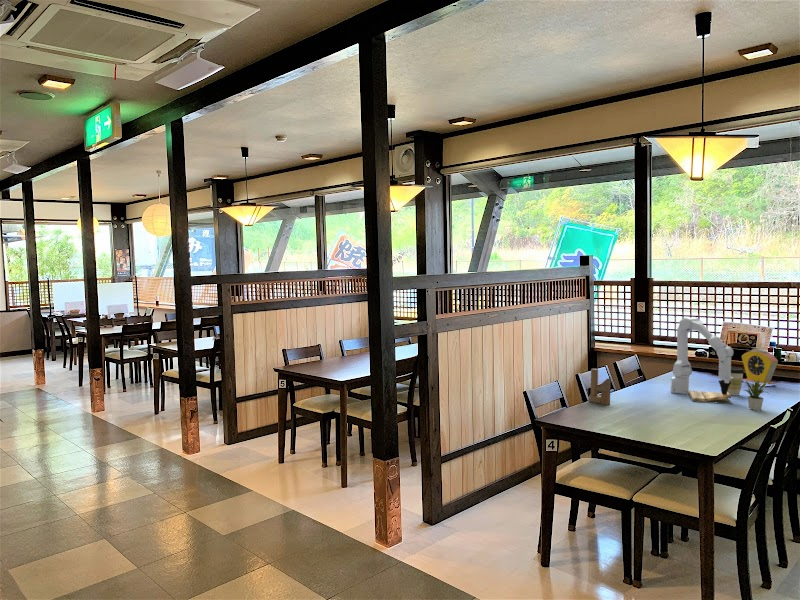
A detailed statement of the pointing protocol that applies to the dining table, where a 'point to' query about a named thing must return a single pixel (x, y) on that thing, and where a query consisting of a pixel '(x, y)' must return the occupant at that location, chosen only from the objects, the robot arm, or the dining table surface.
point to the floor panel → (700, 397)
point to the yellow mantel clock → (759, 365)
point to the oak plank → (717, 396)
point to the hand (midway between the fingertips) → (724, 394)
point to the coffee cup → (735, 381)
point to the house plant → (755, 395)
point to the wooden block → (603, 388)
